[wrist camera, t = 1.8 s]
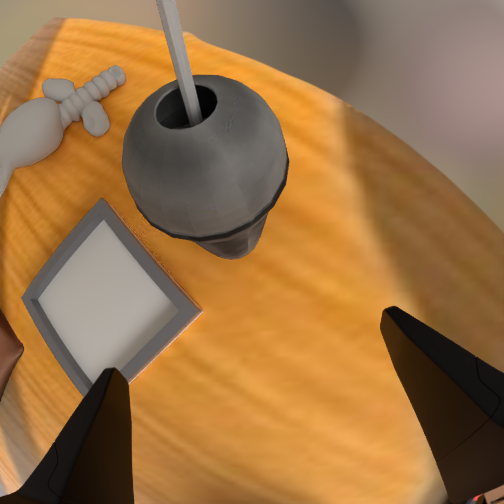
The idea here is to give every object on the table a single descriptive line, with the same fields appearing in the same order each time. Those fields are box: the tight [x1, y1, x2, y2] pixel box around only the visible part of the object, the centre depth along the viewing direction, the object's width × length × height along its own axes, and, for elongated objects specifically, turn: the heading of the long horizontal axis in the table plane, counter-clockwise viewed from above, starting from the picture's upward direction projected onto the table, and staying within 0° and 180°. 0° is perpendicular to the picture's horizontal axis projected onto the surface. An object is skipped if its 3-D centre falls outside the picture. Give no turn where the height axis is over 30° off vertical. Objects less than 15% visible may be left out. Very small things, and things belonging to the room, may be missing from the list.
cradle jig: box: [21, 198, 204, 397], centre depth 22 cm, size 13×13×2 cm
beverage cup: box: [122, 0, 289, 259], centre depth 14 cm, size 7×7×20 cm
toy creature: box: [0, 65, 126, 197], centre depth 24 cm, size 13×7×20 cm
